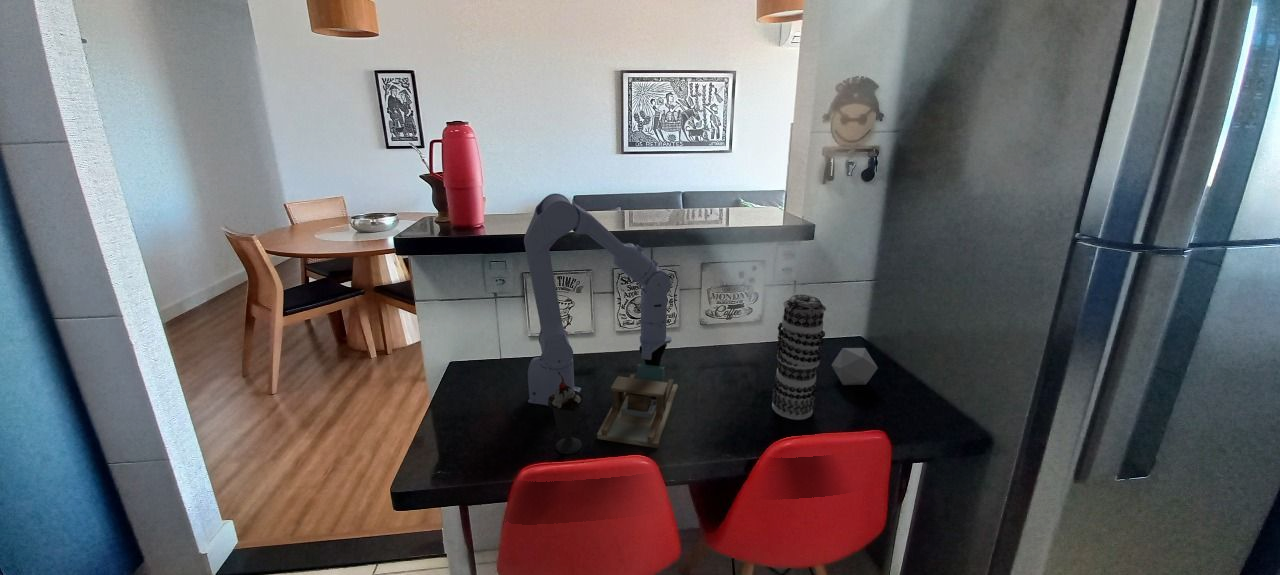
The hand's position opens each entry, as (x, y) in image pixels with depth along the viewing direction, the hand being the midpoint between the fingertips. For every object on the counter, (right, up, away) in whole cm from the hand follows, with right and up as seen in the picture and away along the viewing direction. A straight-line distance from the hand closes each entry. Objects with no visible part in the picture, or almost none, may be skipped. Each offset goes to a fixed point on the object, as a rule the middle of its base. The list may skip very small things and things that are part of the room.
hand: (652, 373), depth 116 cm
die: (+47, -2, +2) cm, 47 cm away
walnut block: (-3, -5, -11) cm, 13 cm away
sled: (-2, -4, -8) cm, 9 cm away
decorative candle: (+29, -6, -9) cm, 31 cm away
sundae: (-16, -10, -21) cm, 28 cm away
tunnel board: (-3, -6, -10) cm, 12 cm away
